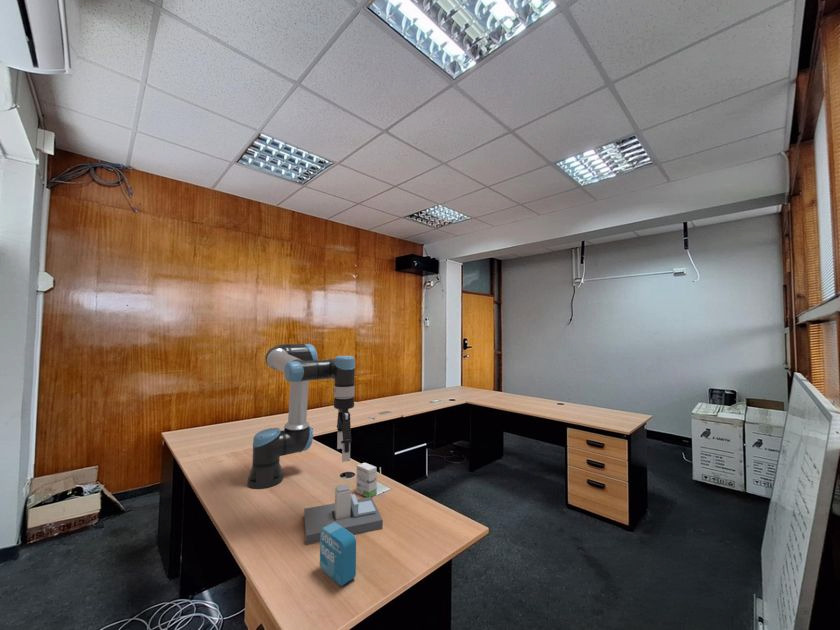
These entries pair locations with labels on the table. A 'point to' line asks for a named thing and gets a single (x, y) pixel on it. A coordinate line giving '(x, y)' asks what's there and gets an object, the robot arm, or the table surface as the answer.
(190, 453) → the table surface
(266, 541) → the table surface
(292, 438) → the robot arm
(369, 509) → the light blue l-shaped block
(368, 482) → the ink box
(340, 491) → the plug
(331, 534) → the data package
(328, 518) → the socket block
